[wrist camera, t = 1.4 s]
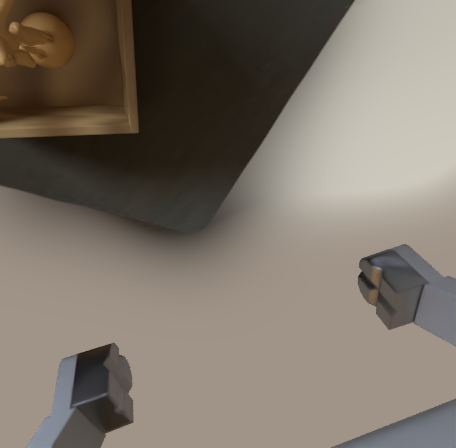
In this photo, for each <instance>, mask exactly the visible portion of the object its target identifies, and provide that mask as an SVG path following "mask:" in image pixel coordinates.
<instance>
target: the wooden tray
mask: <svg viewBox="0 0 456 448" xmlns="http://www.w3.org/2000/svg"><path fill="white" fill-rule="evenodd" d="M35 12H45V13H49V14H52V15H54V16H56V17H57V18H59V19H60V20H61V21H63V22H64V23H65V24H66V26H67V27H68V28H69V30H70V32H71V34H72V36H73V39H74V45H75V49H74V54H73V57H72V58H71V60H70V61H69V62H68V63H67V64H66V65H64V66H63V67H60V68H54V69H52V68H45V67H42V66H40V65H38V64H36V66H35V67H34V68H31V67H28V66H23V65H19V64H17V65H15V66H12V67H4V66H0V96H7V99H0V138H20V137H46V136H72V135H98V134H124V133H139V123H138V106H137V88H136V71H135V53H134V36H133V19H132V1H131V0H15V1H14V3H13V6H12V9H11V11H10V13H9V15H8V17H7V19H6V22H5V28H6V29H7V30H8V31H9V28H10V25H11V23H12V22H18V23H20V24H21V22H22V20H23V19H24V18H25V17H26V16H28V15H29V14H32V13H35ZM19 43H20V42H19Z"/></svg>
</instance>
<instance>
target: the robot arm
mask: <svg viewBox="0 0 456 448" xmlns="http://www.w3.org/2000/svg"><path fill="white" fill-rule="evenodd" d="M359 267H360V269H361V270H362V272H361V273H360V275H359V276H358V285H359V288H360V291H361V293H362V295H363V297H364V298H365V299H366V301H367V302H368V303H369V304H371V305H374V306H376V307H377V308H376V314H377V315H378V316H379V318H380V319H381V320H382V321H383V323H384V324H385V325H386V327H387V328H388V329H389V330H391V329H394V328H396V327H399V326H403V325H406V324H409V323H412V322H414V324H416V325H418V326H420V327H421V328H423V329H425V330H427V331H429V332H430V333H432V334H434V335H436V336H438V337H440V338H441V339H443V340H445V341H447V342H449V343H450V344H452V345H454V346H456V279H455V278H452V277H449V276H447V277H443V276H442V275H441V274H440V273H438V272H437V271H436V270H435V269H434V268H433V267H432V266H431V265H430V264H429V263H427V262H426V261H425V260H424V259H423V258H422V257H420V255H418V254H417V253H416V252H415V251H414V250H413V249H412V248H411V247H409V246H408V245H406V244H403V245H400V246H398V247H395V248H392V249H387V250H385V251H382V252H379V253H376V254H373V255H370V256H368V257H365V258H362V259H361V260H360V263H359ZM131 387H132V375H131V370H130V366H129V364H128V361H127V360H126V358H125V357H124V356H122V355H119V348H118V347H117V346H116V344H115V343H112V344H108V345H105V346H102V347H98V348H95V349H92V350H89V351H85V352H82V353H79V354H76V355H73V356H70V357H67V358H64V359H62V361H61V363H60V365H59V370H58V376H57V382H56V389H55V395H54V402H53V408H52V414H51V416H49V417H46V418H45V420H44V421H43V423H42V424H41V426H40V427H39V429H38V430H37V432H36V433H35V435H34V436H33V438H32V439H31V441H30V442H29V444H28V445H27V447H26V448H100V447H101V445H102V443H103V441H104V438H105V436H106V435H105V433H108V432H110V431H113V430H116V429H118V428H121V427H123V426H126V425H128V424H131V423H133V400H132V398H131V397H130V396H129V395H128V393H129V391H130V389H131ZM331 448H456V399H454V400H451V401H449V402H446V403H444V404H441V405H439V406H436V407H434V408H431V409H429V410H426V411H423V412H421V413H418V414H416V415H413V416H411V417H408V418H406V419H403V420H401V421H398V422H395V423H393V424H390V425H388V426H385V427H383V428H380V429H377V430H375V431H372V432H370V433H367V434H365V435H362V436H360V437H357V438H355V439H352V440H350V441H347V442H344V443H342V444H339V445H337V446H334V447H331Z"/></svg>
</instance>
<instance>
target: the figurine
mask: <svg viewBox="0 0 456 448" xmlns="http://www.w3.org/2000/svg"><path fill="white" fill-rule="evenodd" d="M14 1H15V0H0V66H4V67H12V66H15V65H17V64H19V65H23V66H28V67H31V68H34V67H35V66H36V64H38V65H40V66H42V67H45V68H52V69H54V68H60V67H63V66H64V65H66V64H67V63H68V62H69V61H70V60H71V58H72V57H73V54H74V49H75V45H74V39H73V36H72V34H71V32H70V30H69V28H68V27H67V26H66V24H65V23H64V22H63V21H61V20H60V19H59V18H57V17H56V16H54V15H52V14H49V13H45V12H35V13H32V14H29V15H28V16H26V17H25V18H24V19H23V20H22V22H21V24H20V23H18V22H12V23H11V25H10V28H9V31H8V30H7V29H6V28H5V22H6V19H7V17H8V15H9V13H10V11H11V9H12V6H13V3H14ZM19 42H20V43H19ZM0 99H7V96H0Z"/></svg>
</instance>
